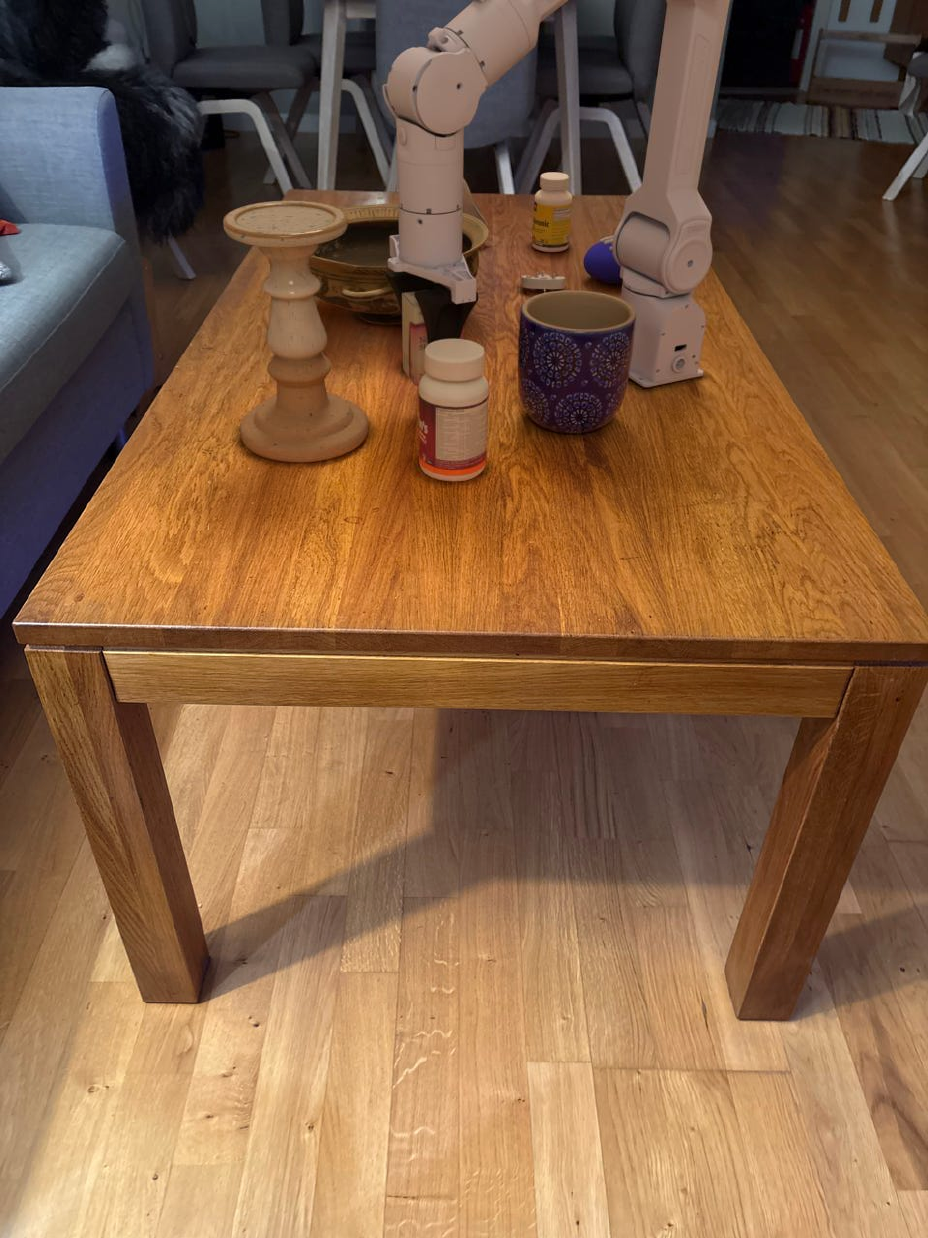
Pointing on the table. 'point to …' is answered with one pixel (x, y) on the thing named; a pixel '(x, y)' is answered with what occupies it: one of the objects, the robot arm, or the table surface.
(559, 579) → the table surface
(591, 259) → the decorative object
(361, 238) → the ceramic bowl
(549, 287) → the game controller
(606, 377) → the planter
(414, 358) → the small box
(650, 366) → the robot arm
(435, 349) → the pill bottle
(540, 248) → the supplement bottle
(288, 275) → the candle holder
